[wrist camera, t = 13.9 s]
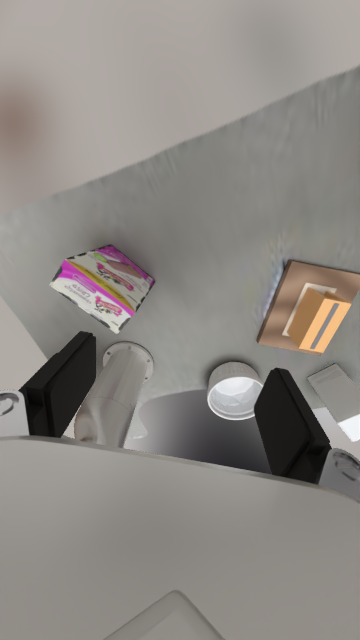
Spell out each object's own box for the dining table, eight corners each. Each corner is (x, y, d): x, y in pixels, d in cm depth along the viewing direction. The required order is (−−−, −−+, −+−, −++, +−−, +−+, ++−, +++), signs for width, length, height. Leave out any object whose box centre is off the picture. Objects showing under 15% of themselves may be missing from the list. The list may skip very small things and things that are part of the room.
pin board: (316, 351, 49) (327, 364, 45) (256, 340, 48) (262, 351, 44) (361, 274, 41) (379, 280, 37) (288, 259, 40) (299, 264, 36)
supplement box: (305, 377, 52) (336, 422, 41) (336, 362, 50) (377, 406, 38) (319, 395, 54) (352, 443, 43) (349, 381, 52) (392, 428, 40)
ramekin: (257, 398, 56) (264, 421, 50) (206, 398, 57) (207, 420, 51) (262, 356, 50) (271, 376, 44) (205, 357, 51) (206, 377, 45)
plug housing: (307, 336, 45) (323, 353, 40) (286, 332, 45) (299, 348, 40) (331, 291, 41) (352, 304, 35) (307, 287, 41) (324, 298, 35)
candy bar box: (157, 279, 44) (137, 313, 29) (142, 297, 46) (117, 337, 31) (110, 241, 41) (63, 257, 26) (97, 261, 43) (46, 287, 28)
